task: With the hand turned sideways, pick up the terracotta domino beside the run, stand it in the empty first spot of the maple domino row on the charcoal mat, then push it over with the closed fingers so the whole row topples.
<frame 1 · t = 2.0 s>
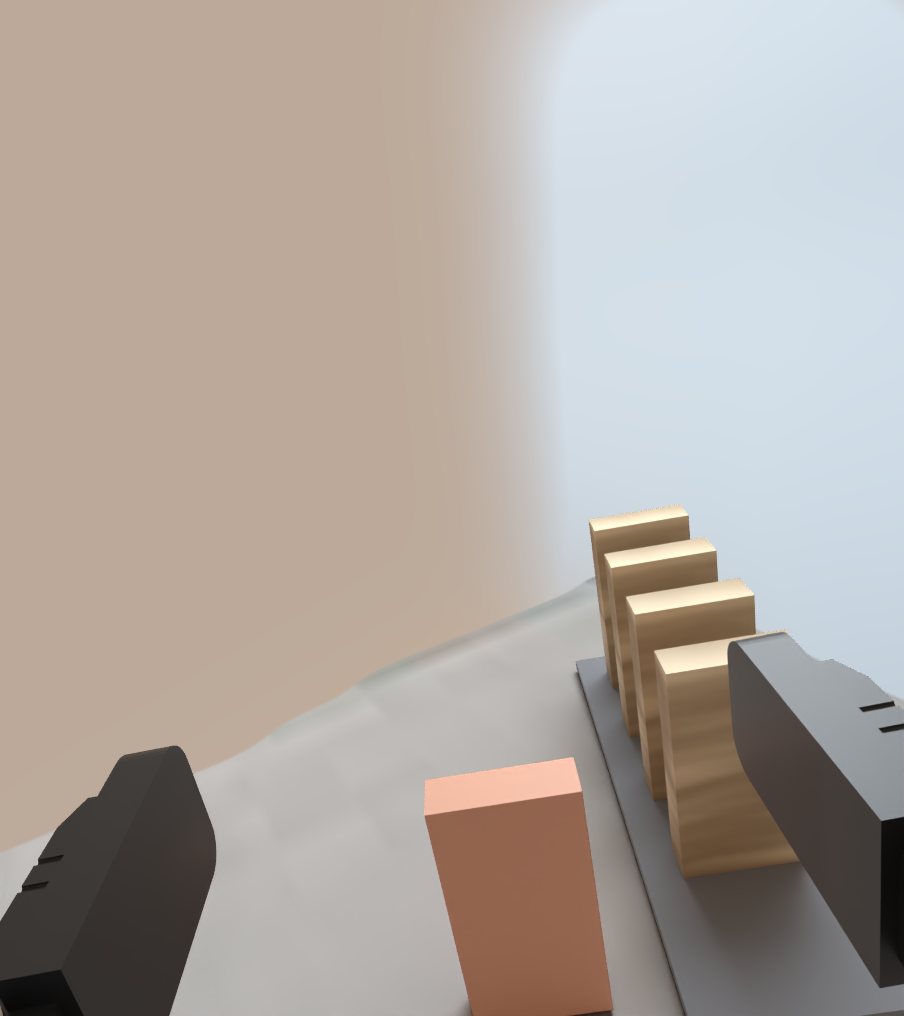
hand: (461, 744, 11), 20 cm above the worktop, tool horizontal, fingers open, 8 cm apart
maple domino 3: (695, 693, 34), on the mat
maple domino 2: (736, 853, 31), resting on mat
mat: (701, 788, 36), on the worktop
terracotta domino: (541, 997, 28), on the worktop
maple domino 5: (652, 673, 44), resting on mat
maple domino 4: (673, 721, 40), resting on mat
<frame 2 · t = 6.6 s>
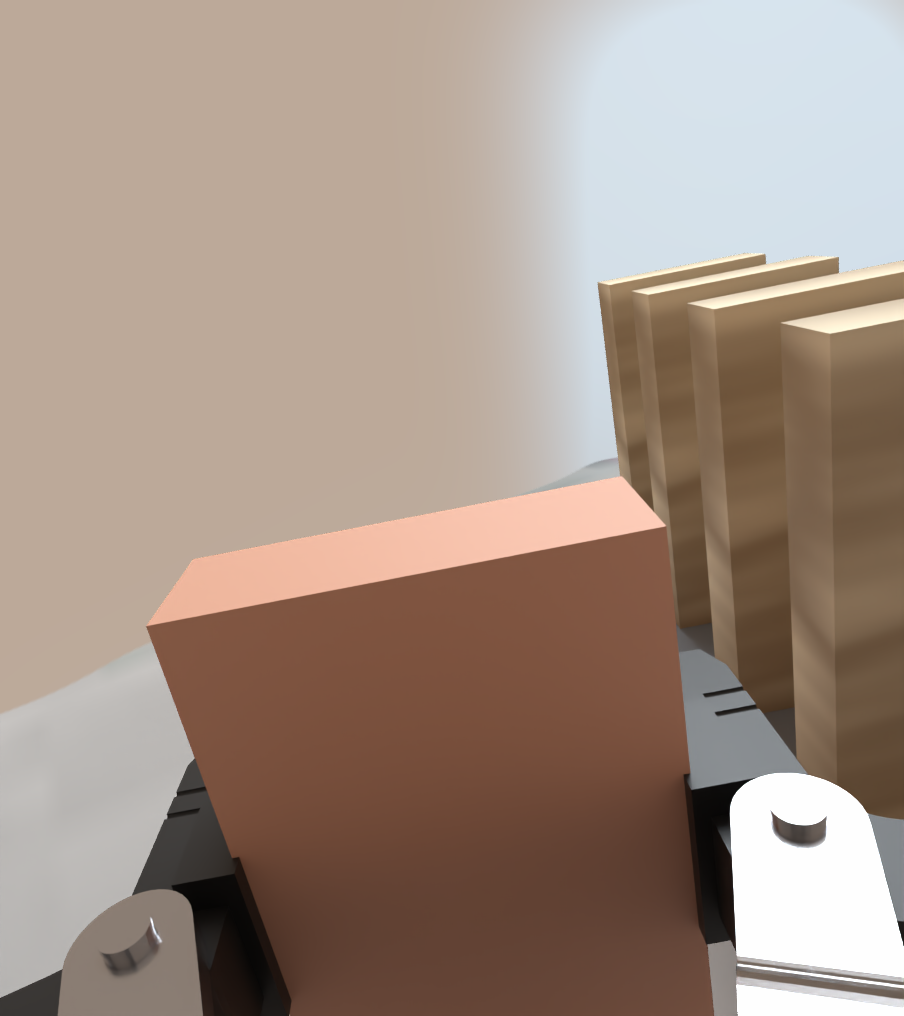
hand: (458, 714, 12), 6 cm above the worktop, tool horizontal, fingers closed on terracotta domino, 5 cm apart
maple domino 3: (820, 500, 18), on the mat
mat: (824, 697, 19), on the worktop
maple domino 5: (701, 546, 28), resting on mat
maple domino 4: (750, 601, 24), resting on mat
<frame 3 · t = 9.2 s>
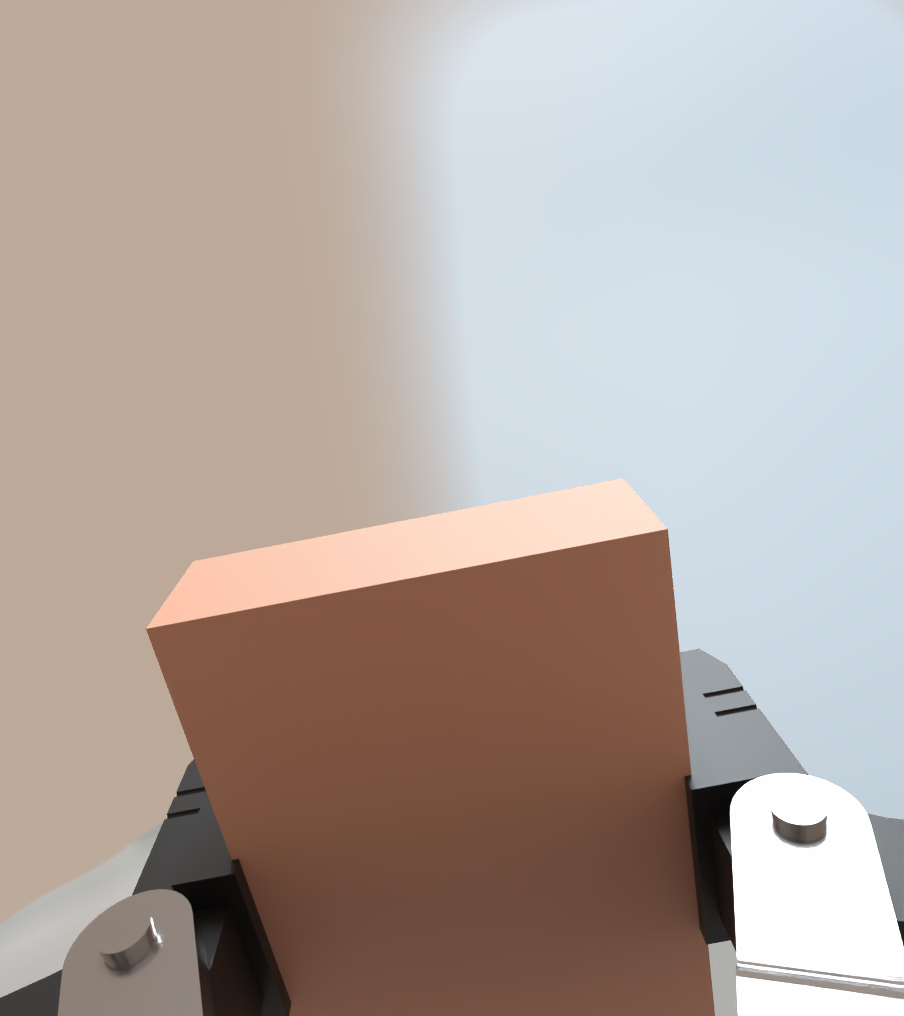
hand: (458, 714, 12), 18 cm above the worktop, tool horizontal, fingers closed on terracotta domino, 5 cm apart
when the fingers open (7 cm above the worktop, at t = 12.1 s): terracotta domino stays where it is, resting on mat.
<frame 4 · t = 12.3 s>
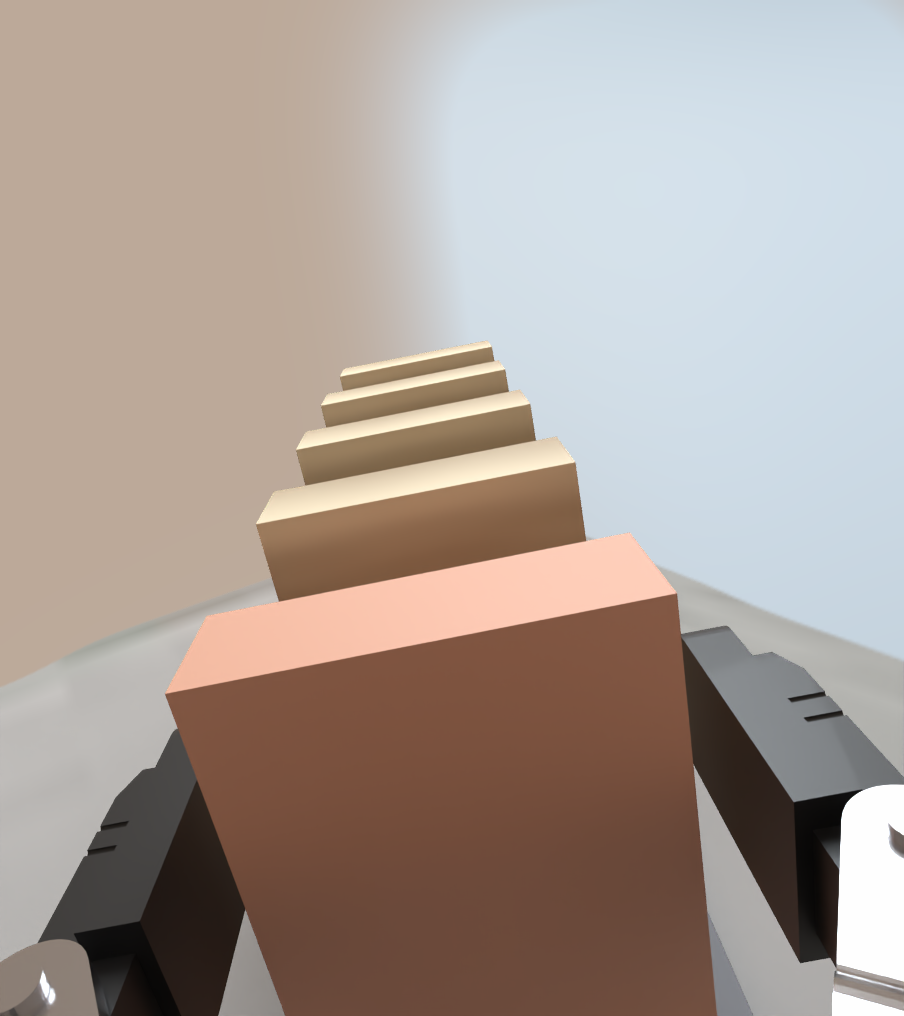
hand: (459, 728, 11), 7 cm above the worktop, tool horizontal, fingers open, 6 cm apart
maple domino 3: (454, 617, 18), on the mat
maple domino 2: (511, 927, 16), resting on mat
mat: (492, 798, 20), on the worktop
maple domino 5: (469, 620, 28), resting on mat
maple domino 4: (475, 687, 24), resting on mat
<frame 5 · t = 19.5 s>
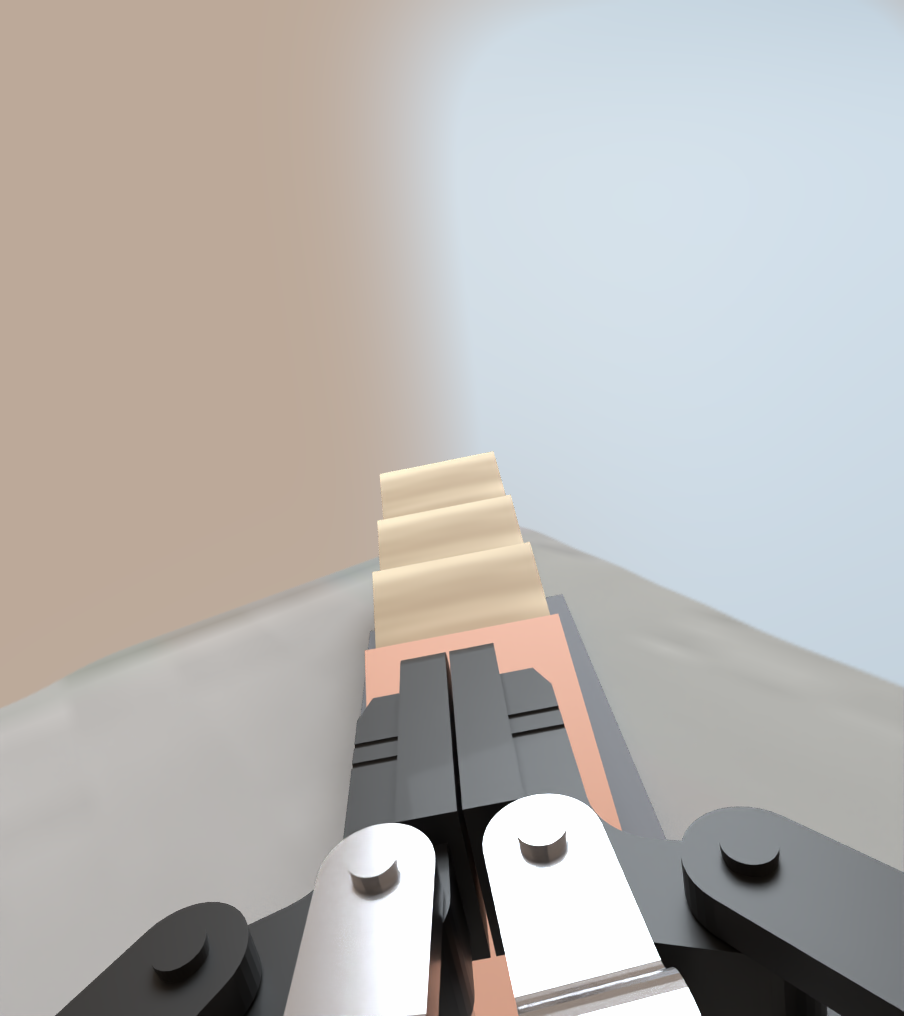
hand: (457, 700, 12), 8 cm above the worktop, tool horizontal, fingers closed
maple domino 3: (463, 625, 24), on the mat, tilted 69°, touching maple domino 2, maple domino 4
maple domino 2: (506, 900, 16), point 1 cm above the worktop, tilted 69°, touching maple domino 3, mat, terracotta domino
mat: (498, 829, 20), on the worktop
maple domino 4: (471, 658, 25), point 2 cm above the worktop, tilted 69°, touching maple domino 3, maple domino 5
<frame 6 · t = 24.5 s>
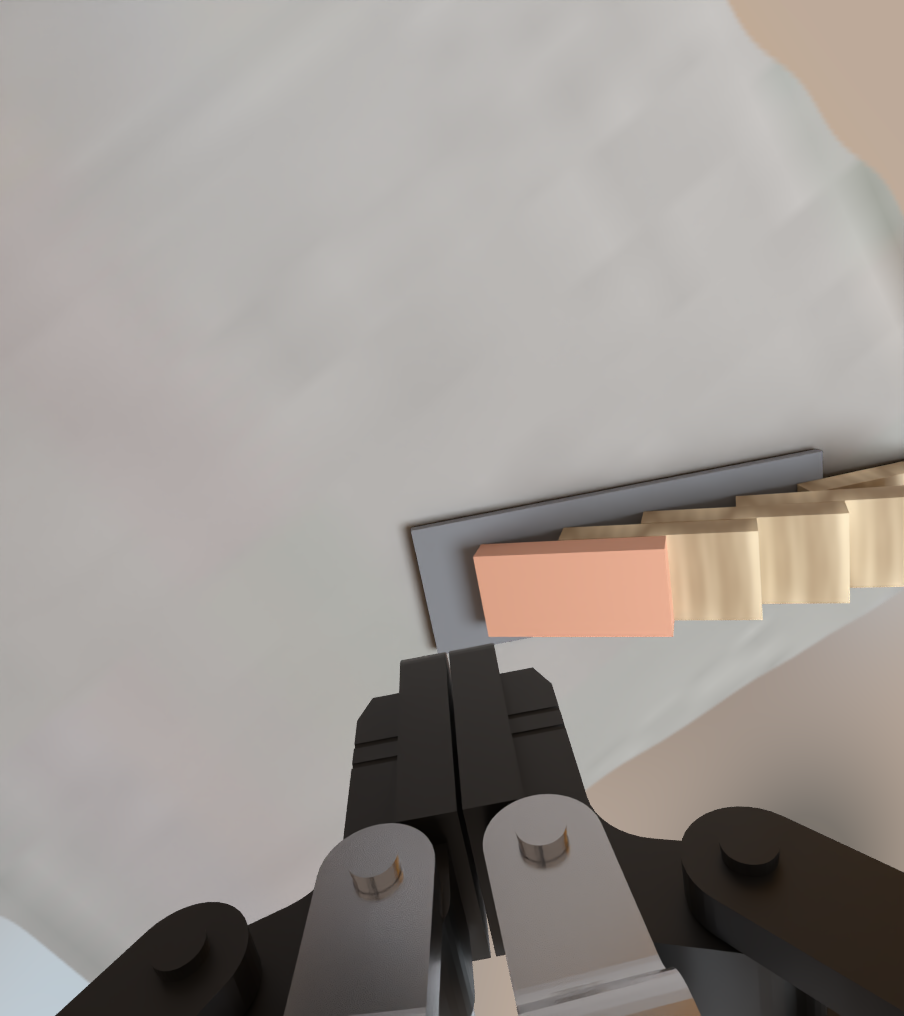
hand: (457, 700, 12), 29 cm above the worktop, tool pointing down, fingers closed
maple domino 3: (742, 555, 40), on the mat, tilted 69°, touching maple domino 2, maple domino 4
maple domino 2: (566, 574, 42), point 1 cm above the worktop, tilted 69°, touching maple domino 3, mat, terracotta domino
mat: (621, 553, 43), on the worktop
terracotta domino: (484, 590, 42), point 1 cm above the worktop, tilted 69°, touching maple domino 2, mat
maple domino 5: (806, 530, 42), point 1 cm above the worktop, tilted 93°, touching maple domino 4, mat
maple domino 4: (738, 543, 42), point 2 cm above the worktop, tilted 69°, touching maple domino 3, maple domino 5
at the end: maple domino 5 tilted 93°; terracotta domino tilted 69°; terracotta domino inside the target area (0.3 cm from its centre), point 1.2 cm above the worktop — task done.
